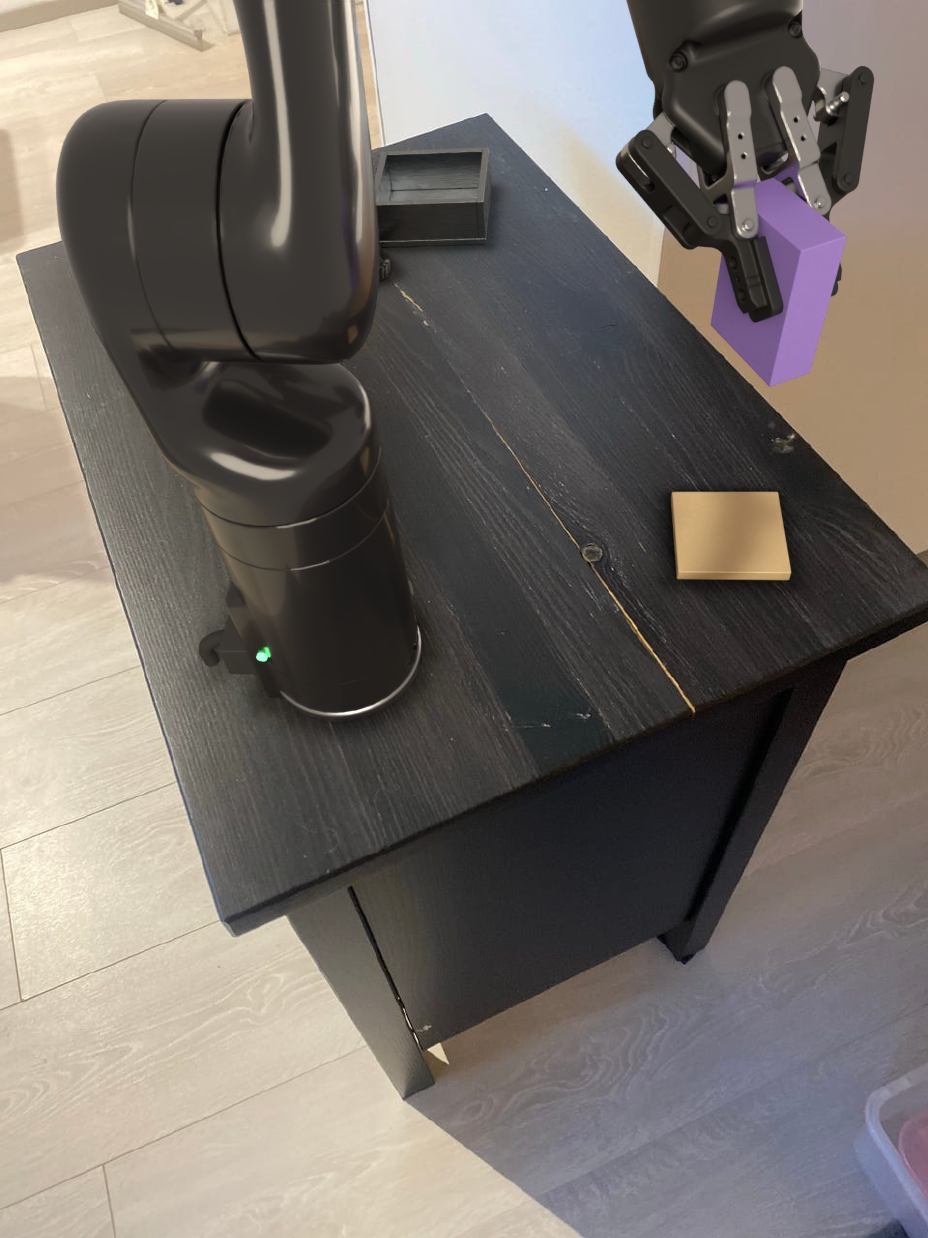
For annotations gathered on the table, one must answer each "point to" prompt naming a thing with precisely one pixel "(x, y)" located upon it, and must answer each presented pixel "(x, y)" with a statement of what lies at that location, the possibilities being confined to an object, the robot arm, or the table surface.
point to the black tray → (433, 197)
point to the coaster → (729, 536)
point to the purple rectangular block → (784, 287)
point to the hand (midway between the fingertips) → (794, 307)
